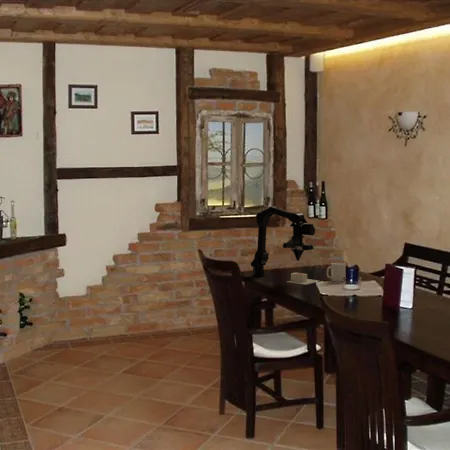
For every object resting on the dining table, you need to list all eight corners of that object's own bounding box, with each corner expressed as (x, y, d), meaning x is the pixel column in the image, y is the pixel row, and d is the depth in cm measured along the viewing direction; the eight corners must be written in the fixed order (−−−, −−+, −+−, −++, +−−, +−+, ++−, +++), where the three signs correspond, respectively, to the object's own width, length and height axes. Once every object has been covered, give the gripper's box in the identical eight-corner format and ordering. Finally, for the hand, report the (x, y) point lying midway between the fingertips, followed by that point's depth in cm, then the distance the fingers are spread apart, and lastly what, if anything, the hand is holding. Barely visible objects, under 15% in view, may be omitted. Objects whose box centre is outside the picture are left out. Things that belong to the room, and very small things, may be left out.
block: (290, 273, 419) (303, 274, 413) (295, 272, 422) (307, 273, 416) (290, 280, 420) (303, 281, 414) (295, 279, 423) (307, 280, 417)
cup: (348, 281, 416) (348, 264, 415) (330, 282, 411) (330, 265, 410) (340, 278, 423) (340, 262, 422) (323, 280, 419) (323, 263, 418)
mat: (286, 282, 416) (286, 281, 416) (301, 278, 426) (301, 278, 426) (305, 284, 406) (305, 284, 406) (320, 281, 416) (320, 280, 416)
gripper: (276, 234, 416) (276, 260, 418) (302, 237, 404) (302, 264, 405) (288, 232, 424) (288, 258, 426) (313, 235, 412) (313, 261, 413)
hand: (297, 260), depth 417 cm, fingers closed
